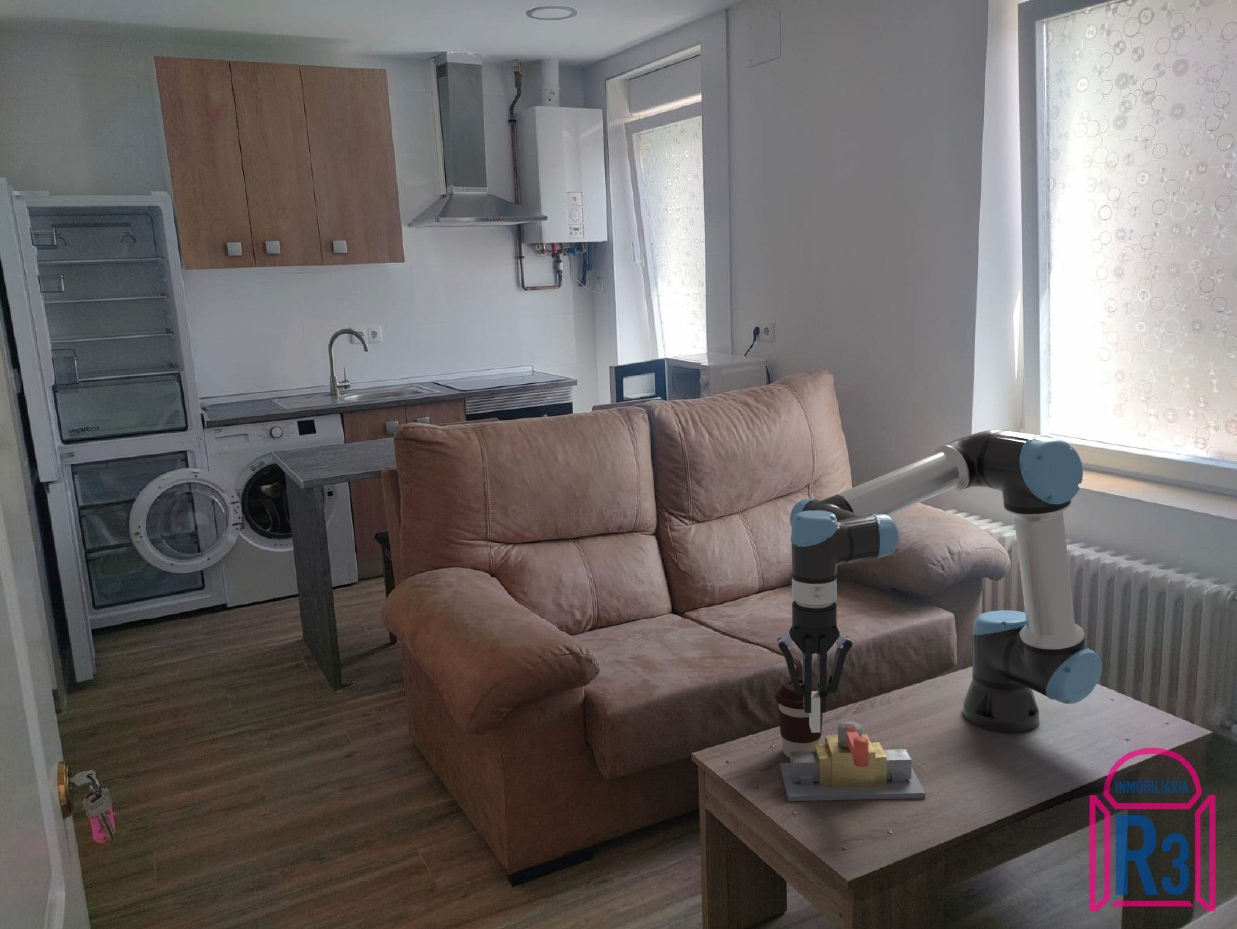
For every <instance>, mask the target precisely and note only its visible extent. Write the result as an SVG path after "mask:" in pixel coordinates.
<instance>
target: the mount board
mask: <svg viewBox="0 0 1237 929" xmlns="http://www.w3.org/2000/svg"><path fill="white" fill-rule="evenodd" d="M779 768H780V773H781V775H782V776H781V777H782V781H783V784H784V789H785V793H786V797H787V800H788V802H810V801H813V802H815V801H845V800H846V801H849V800H891V799H892V800H893V799H895V800H897V799H925V798H926V792H925V790H924V788H923V785H922V784H921V782H920V780H919V778H918V776H917V774H916V771H915V770H914V769H913V767H912V765H911V779H905V783H893V784H892V782H891V780H887V783H886V785H875V787H848V788H832V786H820V785H819V782H814V785H813V786H801V785H800V782H793V779H792V775H791V769H790V762H781V763H779Z"/></svg>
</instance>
